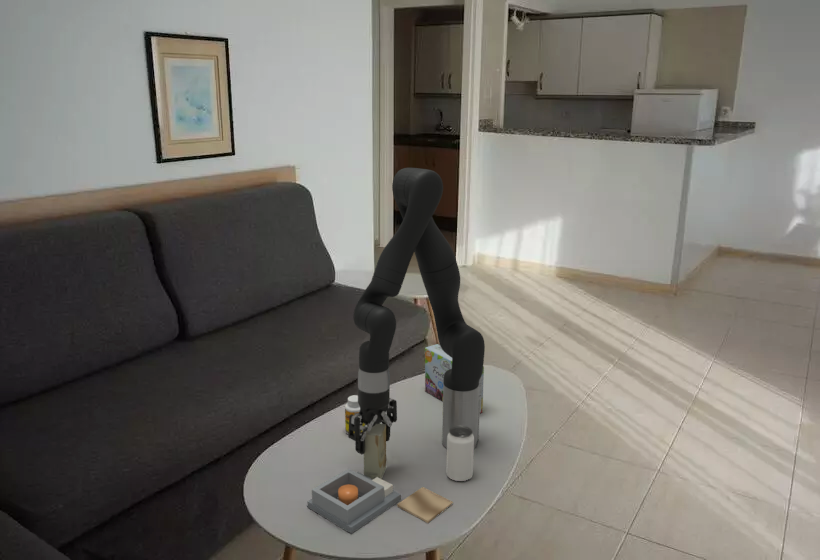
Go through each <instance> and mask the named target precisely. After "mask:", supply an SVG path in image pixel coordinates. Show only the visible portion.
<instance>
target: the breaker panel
mask: <svg viewBox="0 0 820 560" xmlns="http://www.w3.org/2000/svg"><path fill="white" fill-rule="evenodd" d="M348 484H350V485H354V486H356V487H357V488H358V499H357V500H355V501H354V502H352V503H351V504H349V505H346V504H344V503H342V502H341V501H339V500H338V489H339V488H340V487H341V486H343V485H348ZM401 501H402V494H401V493H400V492H398V491H396V490H394V485H393V484H392V483H390V482H388V481H386V480H384V479H383V478H382V479H380V478H378V477H376V478H375V479H371V478H369V477H367V476H365V475H364V473H362V472H359V471H355V470H353V469H351V468H349V467H348V468H347V469H345V470H343V471H341V472H339V473H338V474H337V475H334V476H333V477H331V478H329V479H327V480H326V481H324V482H322V483H320V484H319V485H317V486H316V487H315V486H314V488H311V499H310V500H308V501H307V508H308V509H310V510H311V511H312V512H313V511H314V513H317V514H319V515H320V516H322V517H323V518H324V519H326V520H328V521H330V522H331V523H333V524H335V525H337V526H338V527H339V528H341V529H342V530H344V531H346V532H348V533H349V534H353V533H355V531H358V530H359V529H361V528H363V526H365V525H366V524H368V523H370V522H371V521H373V520H374V519H375V518H377V517H378V516H380V515H381V514H383V513H384V512H386V511H387V510H388V509H389V508H391V507H393V506H394V505H396V504H398V503H400V502H401Z"/></svg>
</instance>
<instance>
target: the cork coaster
mask: <svg viewBox="0 0 820 560" xmlns="http://www.w3.org/2000/svg"><path fill="white" fill-rule="evenodd" d="M452 503H453V504H454V502H453V501H451V500H450V499H448V498H446V497H444V496H442V495H440V494H437V493H435V492H433V491H432V490H430V489H427V488H426V487H424V486H422V487H421V488H419V489H417V490H416V491H414V492H413V493H411V494H410V495H409V496H406V497H405V498H404V499H403V500H400V501H399V502H397V503H396V504H397V505H396V508H397V507H398V508H399V509H401V510H403V511H405V512H406V513H408V514H410V515H411V516H414V517H416V518H417V519H419V520H421V521H423V522H425V523H427V524H429V523H430V522H432V521H433V520H434V519H435V518H437V517H438V516H439V515H441V514H442V513H443V512H445V511H446V510H447V509H448V508H447V507H449V506H450V505H451V504H452ZM451 506H452V505H451ZM451 506H450V507H451ZM450 507H449V508H450ZM446 508H447V509H446ZM445 509H446V510H445ZM444 510H445V511H444ZM442 511H443V512H442ZM441 512H442V513H441ZM440 513H441V514H440ZM438 514H439V515H438ZM437 515H438V516H437ZM436 516H437V517H436Z"/></svg>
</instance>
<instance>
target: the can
mask: <svg viewBox="0 0 820 560" xmlns="http://www.w3.org/2000/svg"><path fill="white" fill-rule="evenodd" d="M472 433H473V431H472V429H470V428H469V427H466V426H454V427H452V428H450V430H449V434H448V436H447V448H446V477H448V479H450V480H451V479H452V480H451V481H453V480H455V481H454V482H457V481H464V482H467V481H469V480H470V479H471V478H472V477H473V474H474V452H475V451H474V449H475V448H474V436H473V434H472ZM468 479H469V480H468ZM466 480H467V481H466Z"/></svg>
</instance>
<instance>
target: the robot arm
mask: <svg viewBox="0 0 820 560" xmlns="http://www.w3.org/2000/svg"><path fill="white" fill-rule="evenodd" d="M391 185H392V186H391V188H392V195H393V198H394V201H395V204H396V206H397V208H398V211H399V213H400V215H401V217H402V221H401V224H400V225H399V226H398V227H399V228H398V229H397V231H395V233H394V235H392V237H391V239H390V240H389V241H388V243H387V244H386V245H385V246H384V248H383V250H382V251H381V253H380V255H379V258H378V260H377V262H376V266H375V268H374V270H373V271H374V272H373V275H372V278H371V281H370V283H369V284H368V285H367V287H366V288H365V290H364V292H363V293H362V294H361V296H360V297H359V299H358V301H357V303H356V305H355V307H354V309H353V310H354V311H353V315H352V316H353V318H352V319H353V323H354V325H355V326H356V327H357V328H358V329H359V330H360V331H363V332H364V333H365V332H366V333H367V334H369V340H367V341H364V342H363V343H362V344H360V346H359V351H358V373H357V395H358V404H359V406H360V412H359V414H357V415H352V414H351V415H350V416H349V434H347V435H348V437H347V438H349V439H351V440H353V441H354V442H355V443H354V445H355V446H354V447H355V452H357V453H358V454H359V455H364V453H365V440H364V439H365V437H366V435H367V433H369V432H370V430H371V428H372V427H373V426H375V425H376V424H379V423H380V424H386V442H389V441H390V438H391V428H392V426H393V423H396V422H397V420H398V407H397V405H398V404H397V403H398V402H397V400H396V399H393V398H391V397H390V393H391V392H390V388H391V387H390V386H391V385H390V384H391V380H390V378H391V376H390V375H391V374H390V350H391V347H392V344H393V340H394V336H395V333H396V329H397V320H396V319H397V318H396V315H395V313H394V312H393V310H392V309H390V308H388V307H386V306H384V305H383V304H384V303H385V301H386V300H387V298H395V297H397V296H398V295H399V293H400V291H401V289H402V286H403V283H404V280H405V277H406V275H407V271H408V268H409V266H410V263H411V261H412V258H413V256H414V255H415V258H416V262H417V265H418V270H419V274H420V276H421V280H422V282H423V286H424V288H425V290H426V295H427V298H428V300H429V304H430V306H431V310H432V313H433V318H434V322H435V328H436V334H437V339H438V340H437V341H438V345H440V346H441V348H442V350H443V351H444V352H445V353H446V354H447V355H449V356H450V357H452V369H449V370H447V371H446V372H445V374H444V379H443V401H442V432H441V433H442V435H441V437H442V438H441V442H442V446H443V447H444V448H445V449H447V436H448V434H449V430H450V428H452V427H454V426H466V427H469V428H470V429H472V431H473V433H472V434H473V436H474V449H476V447H477V445H478V442H479V440H480V439H479V437H480V434H479V433H480V416H481V415H480V414H481V413H480V409H479V408H478V400H479V380H480V378H481V376H482V372H483V366H484V363H485V361H484V360H485V347H486V346H485V339H484V337H483V334H482V333H481V332H479V331H478V330H477V329H475V328H474V327H472V326H470V325H468V324H467V322H466V321H465V319H464V316H463V314H462V311H461V308H460V303H459V293H460V288H461V275H460V273H461V272H460V268H459V266H458V262H457V257H456V255H455V252H454V250H453V248H452V246H451V244H450V243H449V242H448V240H447V239H446V237H445V236H444V234H443V233H442V231H441V230H440V229H439V227H438V226H437V224H436V222H435V220H434V217H433V216H434V214H435V211H437V207H438V206H439V204H440V201H441V199H442V196H443V193H444V192H443V191H444V183H443V180H442V178H441V176H440V174H438V173H437V172H436V171H434V170H431V169H426V168H419V167H418V168H417V167H404V168H401V169H399V170H398V171H397V172H396V174H395V175H394V176H393V180H392V183H391ZM363 423H364V424H365V425H366V428H365V427H363V426H362V425H363ZM361 430H363V432H362V434H361V435H360V432H361Z"/></svg>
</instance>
